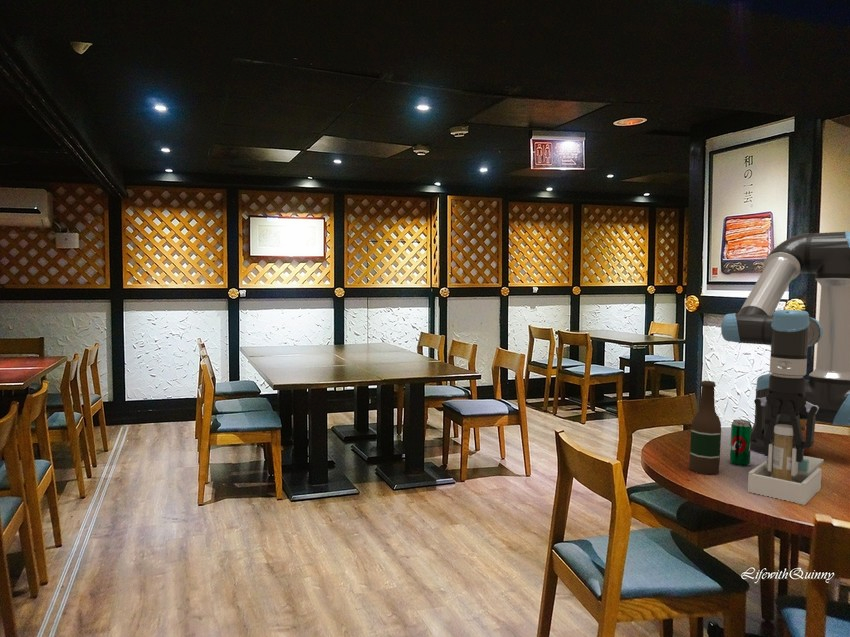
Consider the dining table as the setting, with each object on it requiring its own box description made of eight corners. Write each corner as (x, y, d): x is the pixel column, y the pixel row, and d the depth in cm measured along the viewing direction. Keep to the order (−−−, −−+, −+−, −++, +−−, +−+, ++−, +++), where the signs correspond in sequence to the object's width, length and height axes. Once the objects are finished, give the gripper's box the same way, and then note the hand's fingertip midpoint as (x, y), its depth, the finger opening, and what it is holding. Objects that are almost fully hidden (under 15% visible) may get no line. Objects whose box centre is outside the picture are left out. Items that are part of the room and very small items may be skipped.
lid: (781, 454, 168) (782, 442, 168) (823, 462, 162) (824, 449, 162) (764, 467, 157) (764, 453, 156) (808, 476, 150) (809, 462, 150)
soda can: (753, 466, 173) (755, 423, 172) (734, 466, 173) (736, 422, 172) (745, 461, 178) (747, 419, 177) (726, 460, 178) (728, 418, 177)
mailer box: (767, 477, 163) (767, 458, 163) (820, 488, 155) (821, 469, 155) (747, 492, 152) (748, 472, 151) (804, 505, 144) (805, 483, 143)
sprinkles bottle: (796, 484, 149) (799, 428, 148) (775, 483, 149) (778, 427, 148) (788, 478, 153) (791, 424, 152) (768, 477, 154) (771, 422, 153)
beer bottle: (725, 471, 168) (729, 382, 167) (712, 477, 163) (716, 385, 161) (696, 464, 174) (700, 378, 172) (683, 470, 169) (686, 380, 167)
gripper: (743, 372, 153) (738, 467, 154) (826, 381, 141) (820, 484, 142) (752, 369, 158) (748, 461, 160) (833, 378, 146) (828, 477, 148)
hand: (782, 472), depth 151 cm, fingers closed on sprinkles bottle, 4 cm apart
